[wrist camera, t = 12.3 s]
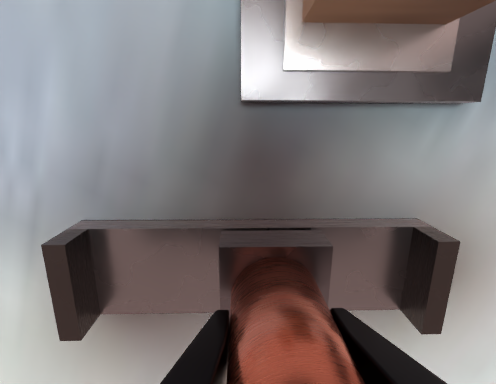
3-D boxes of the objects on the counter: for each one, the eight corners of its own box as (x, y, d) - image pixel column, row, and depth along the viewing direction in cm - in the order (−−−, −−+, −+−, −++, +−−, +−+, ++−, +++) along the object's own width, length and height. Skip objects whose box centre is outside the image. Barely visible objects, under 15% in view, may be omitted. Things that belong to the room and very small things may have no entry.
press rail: (416, 218, 12) (460, 241, 10) (404, 295, 13) (440, 333, 11) (81, 220, 12) (41, 245, 9) (93, 300, 13) (59, 340, 10)
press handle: (320, 230, 11) (430, 374, 5) (314, 315, 12) (398, 530, 6) (221, 230, 11) (195, 379, 5) (223, 316, 12) (204, 538, 5)
